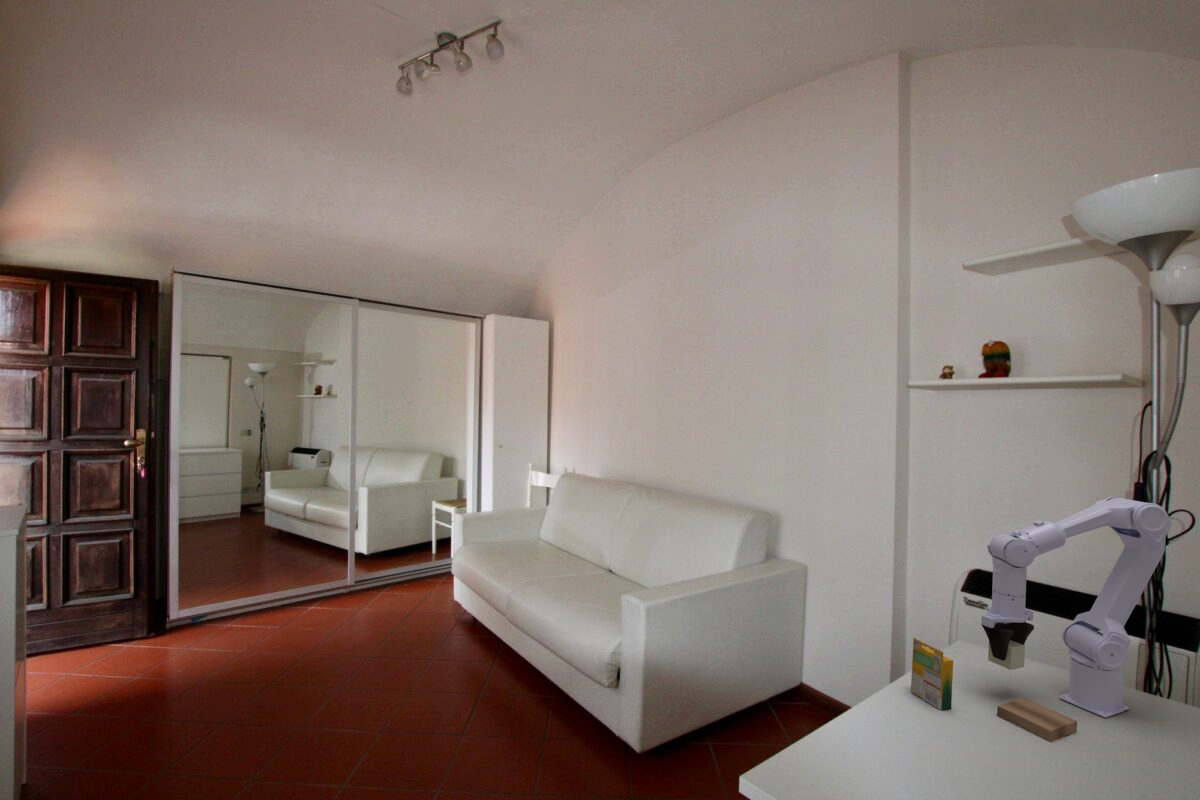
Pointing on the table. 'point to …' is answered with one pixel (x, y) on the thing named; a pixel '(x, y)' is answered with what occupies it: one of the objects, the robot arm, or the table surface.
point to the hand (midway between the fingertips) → (1006, 656)
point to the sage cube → (1010, 656)
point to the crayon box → (931, 675)
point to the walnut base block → (1037, 719)
